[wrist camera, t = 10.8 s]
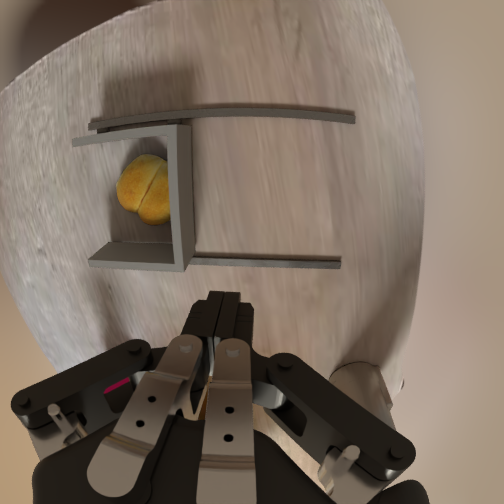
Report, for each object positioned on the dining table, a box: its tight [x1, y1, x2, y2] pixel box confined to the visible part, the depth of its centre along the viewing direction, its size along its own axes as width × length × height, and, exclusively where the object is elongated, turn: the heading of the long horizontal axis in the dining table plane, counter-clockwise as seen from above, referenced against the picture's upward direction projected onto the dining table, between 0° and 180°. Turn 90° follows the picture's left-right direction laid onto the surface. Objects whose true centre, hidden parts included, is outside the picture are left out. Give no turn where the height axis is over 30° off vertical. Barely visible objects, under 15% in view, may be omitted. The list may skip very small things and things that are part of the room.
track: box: [88, 108, 355, 269], centre depth 34 cm, size 34×20×1 cm, turn 89°
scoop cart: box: [72, 119, 196, 272], centre depth 31 cm, size 13×18×6 cm
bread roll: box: [116, 154, 171, 225], centre depth 33 cm, size 8×9×4 cm
